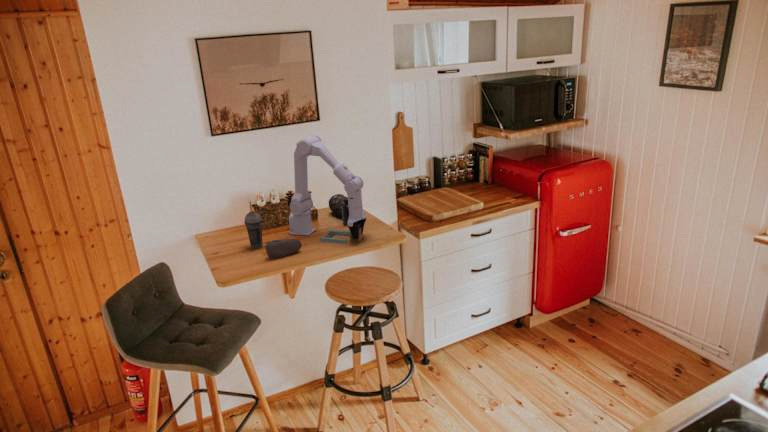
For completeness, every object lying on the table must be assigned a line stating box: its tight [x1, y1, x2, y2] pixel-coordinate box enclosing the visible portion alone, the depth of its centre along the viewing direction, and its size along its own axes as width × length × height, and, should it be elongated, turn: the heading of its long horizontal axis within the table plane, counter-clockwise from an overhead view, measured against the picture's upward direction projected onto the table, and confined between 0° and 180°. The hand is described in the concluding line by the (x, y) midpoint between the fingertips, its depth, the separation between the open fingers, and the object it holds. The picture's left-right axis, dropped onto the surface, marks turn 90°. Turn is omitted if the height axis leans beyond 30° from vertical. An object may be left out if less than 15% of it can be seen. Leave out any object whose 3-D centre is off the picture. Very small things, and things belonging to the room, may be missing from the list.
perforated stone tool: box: [264, 238, 303, 259], centre depth 211 cm, size 15×5×7 cm, turn 115°
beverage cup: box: [244, 200, 263, 250], centre depth 219 cm, size 7×7×20 cm
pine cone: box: [328, 193, 347, 221], centre depth 253 cm, size 10×18×10 cm, turn 35°
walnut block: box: [349, 227, 363, 243], centre depth 223 cm, size 4×4×5 cm
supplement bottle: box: [342, 196, 349, 226], centre depth 242 cm, size 7×7×12 cm
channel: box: [319, 229, 350, 244], centre depth 226 cm, size 12×10×2 cm
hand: (357, 236), depth 223 cm, fingers closed on walnut block, 4 cm apart
